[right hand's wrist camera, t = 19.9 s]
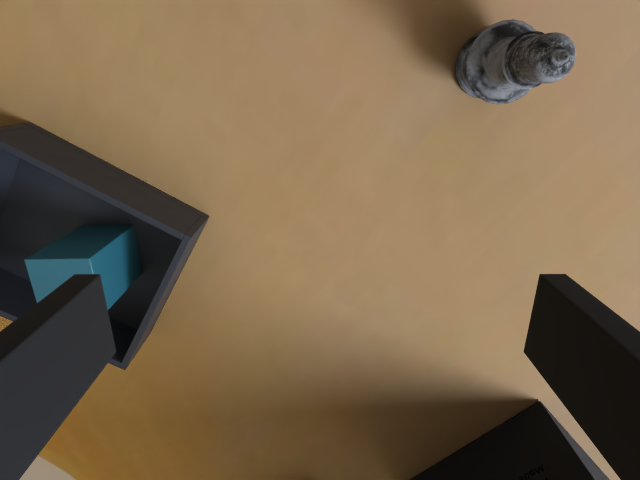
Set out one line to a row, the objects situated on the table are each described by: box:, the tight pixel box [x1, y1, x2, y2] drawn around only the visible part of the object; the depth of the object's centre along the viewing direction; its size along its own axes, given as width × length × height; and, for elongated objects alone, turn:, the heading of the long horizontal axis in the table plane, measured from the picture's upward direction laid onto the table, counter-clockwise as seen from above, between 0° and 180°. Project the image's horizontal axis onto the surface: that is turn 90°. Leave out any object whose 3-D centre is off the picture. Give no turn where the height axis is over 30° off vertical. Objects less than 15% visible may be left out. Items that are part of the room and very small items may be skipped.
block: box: [24, 225, 143, 310], centre depth 36 cm, size 5×5×8 cm
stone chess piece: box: [456, 20, 576, 104], centre depth 29 cm, size 6×6×12 cm
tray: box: [0, 123, 209, 370], centre depth 36 cm, size 31×15×6 cm, turn 60°
